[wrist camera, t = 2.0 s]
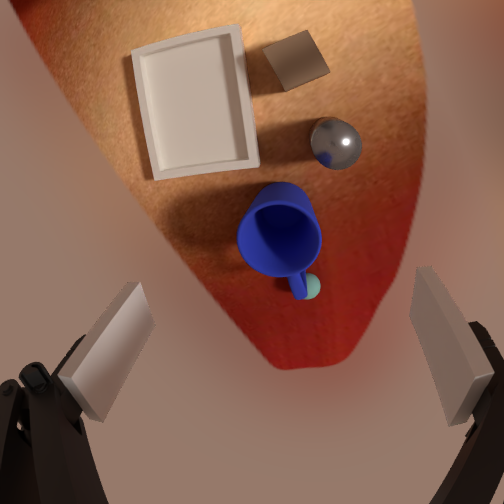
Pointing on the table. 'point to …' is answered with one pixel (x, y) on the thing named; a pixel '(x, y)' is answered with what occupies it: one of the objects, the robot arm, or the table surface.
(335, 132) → the tin
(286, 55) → the walnut block
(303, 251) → the mug
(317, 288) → the ball
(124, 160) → the table surface
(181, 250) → the table surface
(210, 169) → the tray
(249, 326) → the table surface
